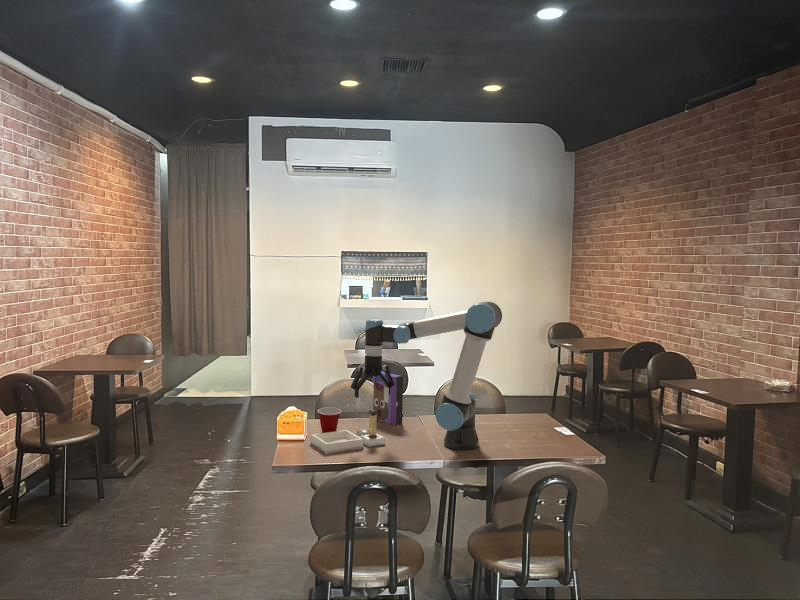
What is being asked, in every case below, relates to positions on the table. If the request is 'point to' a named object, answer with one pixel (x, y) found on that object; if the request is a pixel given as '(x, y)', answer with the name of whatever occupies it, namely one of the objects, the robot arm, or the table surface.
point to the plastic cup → (329, 418)
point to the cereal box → (394, 407)
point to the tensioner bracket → (370, 441)
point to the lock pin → (372, 423)
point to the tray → (336, 441)
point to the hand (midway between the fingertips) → (372, 403)
